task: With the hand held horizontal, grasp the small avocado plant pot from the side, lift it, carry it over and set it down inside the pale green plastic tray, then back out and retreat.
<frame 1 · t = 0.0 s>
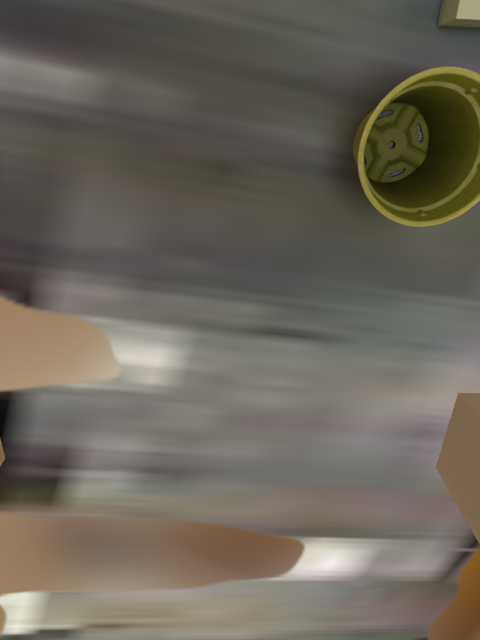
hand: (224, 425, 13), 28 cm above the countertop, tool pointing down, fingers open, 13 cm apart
plant pot: (388, 142, 36), on the countertop
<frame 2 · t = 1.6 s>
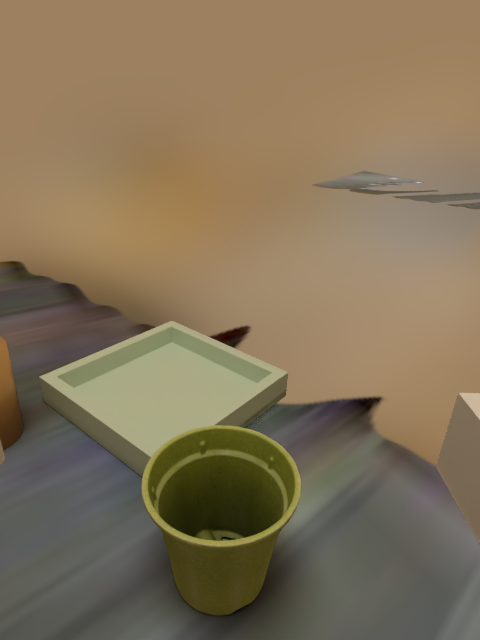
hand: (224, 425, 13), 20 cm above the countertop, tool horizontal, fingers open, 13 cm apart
plant pot: (218, 572, 30), on the countertop
tray: (168, 398, 47), on the countertop
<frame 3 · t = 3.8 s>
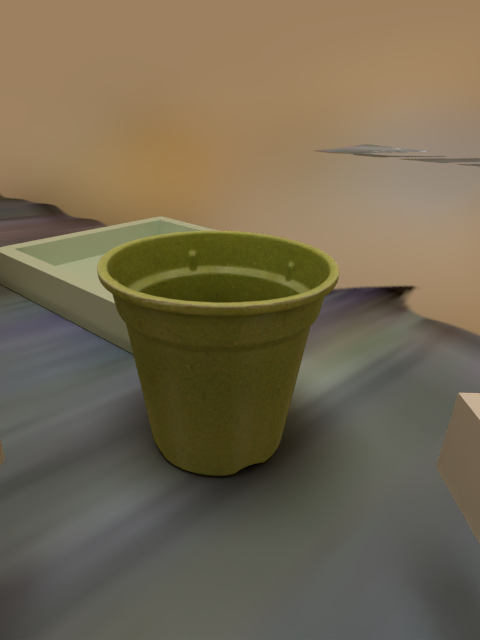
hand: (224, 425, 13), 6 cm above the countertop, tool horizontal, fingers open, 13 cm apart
plant pot: (216, 434, 21), on the countertop
tray: (154, 283, 39), on the countertop
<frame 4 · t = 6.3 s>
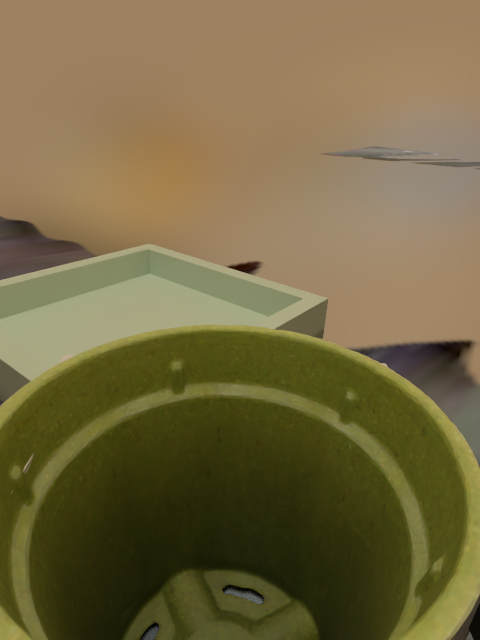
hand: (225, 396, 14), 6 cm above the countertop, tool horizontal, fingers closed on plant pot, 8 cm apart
tray: (136, 340, 30), on the countertop
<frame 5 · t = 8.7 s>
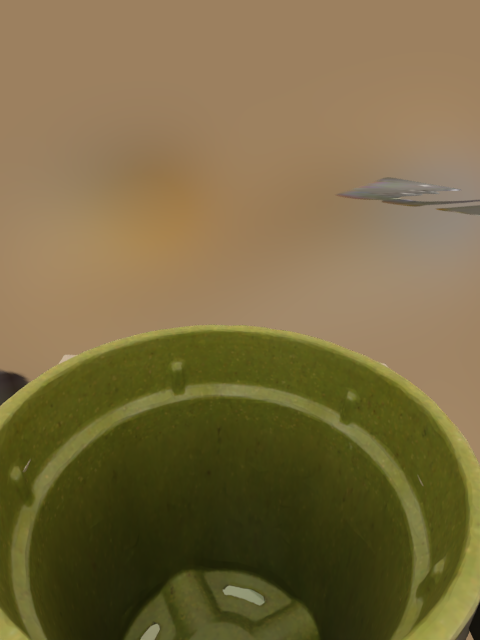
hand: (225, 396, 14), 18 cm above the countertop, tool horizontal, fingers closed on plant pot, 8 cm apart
when the fingers open (8 cm above the countertop, at t = 11.3 s): plant pot drops 1 cm, resting on tray.
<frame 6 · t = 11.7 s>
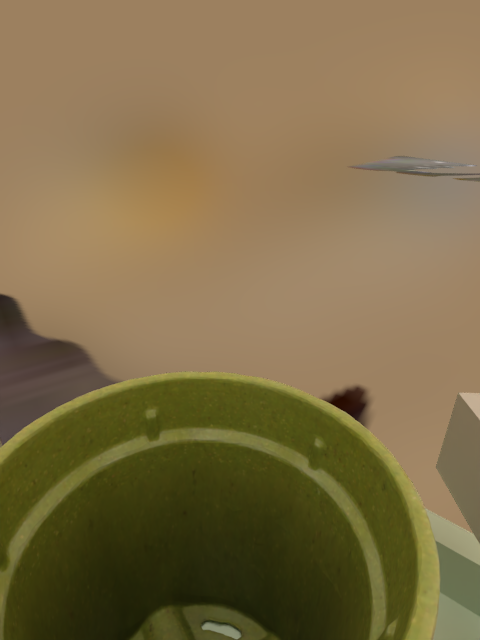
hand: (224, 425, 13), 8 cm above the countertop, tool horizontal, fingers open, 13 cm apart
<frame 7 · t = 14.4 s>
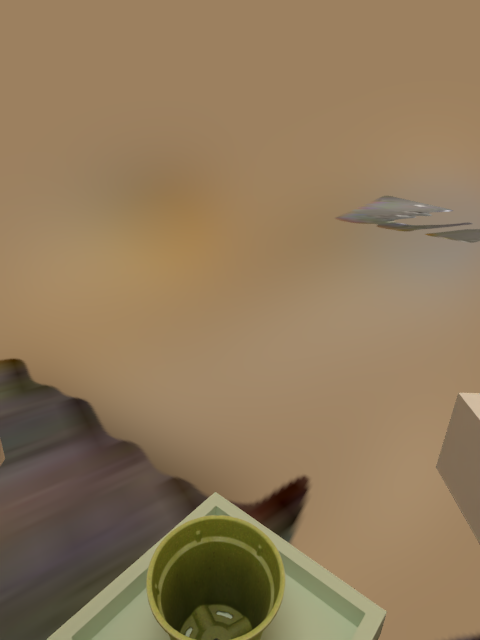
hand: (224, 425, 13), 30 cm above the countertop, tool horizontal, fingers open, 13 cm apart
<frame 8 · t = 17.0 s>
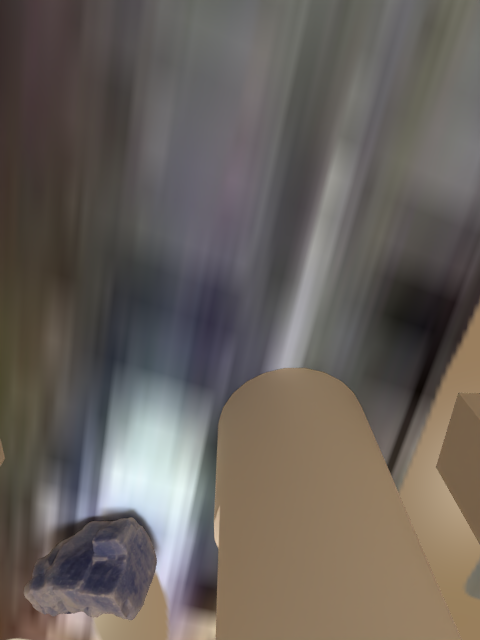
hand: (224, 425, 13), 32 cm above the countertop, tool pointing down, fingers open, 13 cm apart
cylinder: (290, 428, 53), on the countertop
mineral: (101, 531, 60), on the countertop
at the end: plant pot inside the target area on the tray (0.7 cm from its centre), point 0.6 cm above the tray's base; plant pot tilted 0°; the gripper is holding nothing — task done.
